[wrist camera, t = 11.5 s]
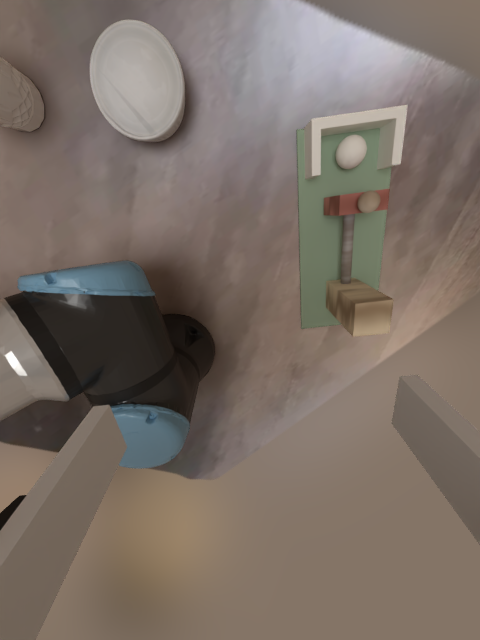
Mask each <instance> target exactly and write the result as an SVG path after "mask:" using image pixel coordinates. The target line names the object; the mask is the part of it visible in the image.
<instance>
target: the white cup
mask: <svg viewBox="0 0 480 640" xmlns="http://www.w3.org/2000/svg"><path fill="white" fill-rule="evenodd" d="M43 120H44V103H43V100H42V97H41V95H40V92H39V90H38V89H37V88H36V86H35V85H34V84H33V82H32V81H31V80H30V79H29V78H28V77H26V76H25V75H23V74H22V73H20V72H19V71H18V70H16V69H15V68H14V67H13V66H12V65H10V64H9V63H8V62H7V61H6V60H4V59H3V58H2V57H0V126H3V127H7V128H12V129H15V130H19V131H26V132H31V131H33V130H35V129H37V128H39V127H40V125H41V123H42V121H43Z"/></svg>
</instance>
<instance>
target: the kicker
mask: <svg viewBox="0 0 480 640" xmlns="http://www.w3.org/2000/svg"><path fill="white" fill-rule="evenodd" d="M389 191H390V189H383V190H375V191H366V192H360V193H352V194H345V195H338V196H332V197H326V198H324V215H332V216H341V215H343V235H342V259H341V279H339V280H331V281H326V308H327V309H328V310H329V311H330V312H331V313H332V315H333V316H334V317H335V318H336V319H337V320H338V321H339V322H340V323H341V324H342V325H343V326H344V328H345V329H346V330H347V331H348V332H349V333H350V334H351V335H352V336H353V337H358V336H367V335H376V334H385V333H389V330H390V323H391V316H392V308H393V301H394V300H393V299H392V298H390V297H388V296H386V295H385V294H383V293H381V292H379V291H377V290H376V289H374V288H372V287H370V286H369V285H367V284H365V283H363V282H361V281H360V280H358V279H356V278H351V270H352V253H353V237H354V220H355V214H357V213H370V212H373V211H380V210H387V209H388V200H389Z"/></svg>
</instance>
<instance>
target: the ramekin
mask: <svg viewBox="0 0 480 640" xmlns="http://www.w3.org/2000/svg"><path fill="white" fill-rule="evenodd" d="M90 82H91V88H92V92H93V95H94V98H95V101H96V103H97V105H98V107H99V109H100V111H101V113H102V114H103V116H104V117H105V118H106V120H107V121H108V122H109V123H110V124H111V125H112V126H113V127H114V128H115V129H116V130H117V131H118V132H120V133H121V134H123V135H124V136H126V137H128V138H131V139H133V140H137V141H143V142H160V141H163V140H165V139H167V138H169V137H170V136H172V134H174V133H175V131H176V130H177V129H178V127H179V126H180V124H181V121H182V120H183V115H184V110H185V81H184V75H183V71H182V67H181V64H180V61H179V59H178V57H177V55H176V53H175V51H174V49H173V47H172V46H171V44H170V43H169V42H168V40H167V39H166V38H165V37H164V36H163V35H162V34H161V33H160V32H159V31H158V30H157V29H155V28H154V27H152V26H151V25H149V24H147V23H145V22H142V21H138V20H122V21H119V22H116V23H114V24H112V25H111V26H109V27H108V28H106V29H105V30H104V32H103V33H102V34H101V35H100V37H99V38H98V40H97V42H96V44H95V46H94V48H93V51H92V54H91V59H90Z"/></svg>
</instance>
